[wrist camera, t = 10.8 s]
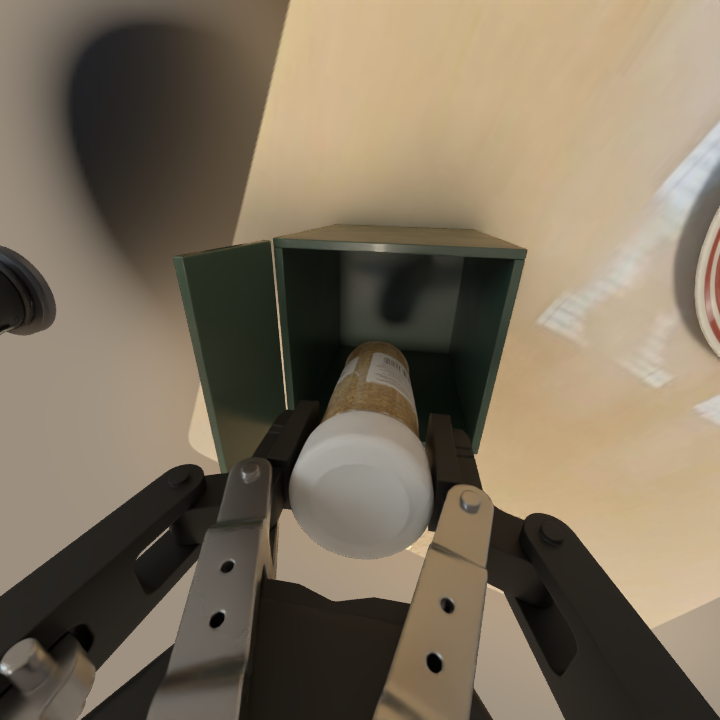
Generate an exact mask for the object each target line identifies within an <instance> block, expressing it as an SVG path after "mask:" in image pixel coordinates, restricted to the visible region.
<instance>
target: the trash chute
mask: <svg viewBox="0 0 720 720" xmlns="http://www.w3.org/2000/svg"><path fill="white" fill-rule="evenodd" d="M273 244H274V257H275V268H276V279H277V291H278V302H279V314H280V325H281V336H282V348H283V359H284V371H285V382H286V393H287V405H288V410H294V409H295V407H296V405H297V404H298V402H299V400H300V399H305V400H315V401H318V402H319V413H320V423H321V421H322V419H323V417H324V414H325V411H326V410H327V408H328V404H329V401H330V399H331V396H332V394H333V392H334V389H335V387H336V385H337V382H338V380H339V378H340V376H341V374H342V371H343V370H344V368H345V364H346V361H347V358H348V356H349V355H350V353H351V352H352V351H353V350H354V349H356V348H357V347H358V346H359V345H361V344H363V343H365V342H368V341H382V342H386V343H390V344H392V345H394V346H395V347H396V348H398V349H399V350H400V351H401V352H402V354H403V355H404V357H405V358H406V361H407V363H408V366H409V378H410V382H411V387H412V392H413V397H414V402H415V407H416V412H417V418H418V431H419V438H420V441H421V443H422V445H423V446H424V448H425V444H426V437H427V430H428V424H429V417H430V413H435V414H444V415H449V416H450V421H451V426H452V428H456V429H462V430H463V431H464V432H465V433H466V434H467V436H468V437H469V438H470V441H471V445H472V450H473V453H474V454H477V453H478V448H479V445H480V441H481V437H482V433H483V429H484V424H485V420H486V416H487V412H488V408H489V404H490V400H491V396H492V392H493V388H494V384H495V380H496V376H497V372H498V368H499V364H500V360H501V356H502V351H503V347H504V343H505V339H506V335H507V331H508V327H509V323H510V319H511V315H512V311H513V307H514V303H515V299H516V295H517V291H518V287H519V283H520V278H521V274H522V270H523V266H524V262H525V260H524V259H525V258H526V254H527V249H525V248H522V247H519V246H517V245H514V244H511V243H509V242H506V241H503V240H500V239H498V238H495V237H492V236H490V235H487V234H484V233H481V232H479V231H476V230H473V229H448V228H422V227H395V226H369V225H342V224H335V225H331V226H326V227H322V228H317V229H312V230H308V231H303V232H299V233H294V234H290V235H285V236H280V237H276V238H273Z"/></svg>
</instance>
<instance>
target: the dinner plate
mask: <svg viewBox="0 0 720 720" xmlns="http://www.w3.org/2000/svg"><path fill="white" fill-rule="evenodd" d="M694 298H695V306H696V314H697V318H698V321H699V325H700V328H701V330H702V332H703V334H704V336H705V338H706V340H707V342H708V343H709V345H710V346H711V348H712V349H713V351H714V352H715V353H716V354H717V355H718V356H719V357H720V206H719V208H718V210H717V212H716V214H715V216H714V218H713V220H712V222H711V224H710V226H709V229H708V231H707V234H706V237H705V240H704V242H703V245H702V248H701V252H700V256H699V259H698V264H697V269H696V276H695V289H694Z"/></svg>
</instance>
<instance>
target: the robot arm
mask: <svg viewBox="0 0 720 720" xmlns="http://www.w3.org/2000/svg"><path fill="white" fill-rule="evenodd" d="M33 315H34V307H33V302H32V299H31V296H30V294H29V292H28V290H27V289H26V287H25V286H24V284H23V283H22V281H21V280H20V279H19V278H18V277H17V276H16V275H15V274H14V273H13V272H12V271H11V270H10V269H9V268H7V267H6V266H5V265H3V264H1V263H0V335H1V334H3V333H5V332H7V331H8V330H11V329H17V328H20V327H24V326H26V325H28V324H29V323H30V322H31V321H32V319H33ZM319 425H320V413H319V402H318V401H315V400H305V399H300V400H299V402H298V404H297V405H296V407H295V409H294V410H285V411H284V412H283V413H281V414H280V415H278V416H277V418H276V419H275V421H274V422H273V424H272V426H271V427H270V429H269V430H268V433H266V435H265V436H264V438H263V440H262V441H261V443H260V444H259V446H258V447H257V449H256V451H255V452H254V454H253V455H252V457H250V458H246V459H244V460H242V461H240V462H238V463H237V464H235V465H234V466H233V467H232V468H231V470H230V472H228V473H222V474H215V475H207V476H204V472H203V470H202V468H201V467H199V466H197V465H193V464H185V465H180V466H178V467H175V468H172V469H170V470H169V471H167V472H166V473H164V474H163V475H162V476H160V477H159V478H158V479H156V480H155V481H153V482H152V483H151V484H149V485H148V486H147V487H145V488H144V489H143V490H141V491H140V492H139V493H137V494H136V495H135V496H134V497H132V498H131V499H130V500H128V501H127V502H126V503H124V504H123V505H121V507H119V508H117V509H116V510H115V511H114V512H112V513H111V514H109V515H108V516H107V517H105V518H104V519H103V520H101V521H100V522H99V523H98V524H96V525H95V526H94V527H92V528H91V529H90V530H88V531H87V532H86V533H84V534H83V535H82V536H80V537H79V538H78V539H76V540H75V541H74V542H72V543H71V544H70V545H68V546H67V547H66V548H64V549H63V550H62V551H60V552H59V553H58V554H56V555H55V556H54V557H52V558H51V559H50V560H48V561H47V562H46V563H44V564H43V565H42V566H40V567H39V568H38V569H36V570H35V571H34V572H32V573H31V574H30V575H28V576H27V577H26V578H24V579H23V580H22V581H20V582H19V583H18V584H16V585H15V586H14V587H12V588H11V589H10V590H8V591H7V592H6V593H4V594H3V595H2V596H0V720H76V719H77V718H78V716H79V715H80V714H81V712H82V711H83V709H84V706H85V703H86V698H87V696H88V694H89V693H90V691H91V688H92V685H93V683H94V679H95V672H96V671H97V670H98V669H99V668H100V667H101V666H102V665H103V663H104V662H105V661H106V660H107V659H108V658H109V657H110V655H112V653H113V652H114V651H115V650H116V649H117V648H118V647H119V646H120V645H121V644H122V643H123V641H124V640H125V639H126V638H127V637H128V636H129V635H130V634H131V633H132V632H133V630H134V629H135V628H136V627H137V626H138V625H139V624H140V623H141V622H142V620H143V619H144V618H145V617H146V616H147V615H148V614H149V613H150V611H152V609H153V608H154V607H155V606H156V605H157V604H158V603H159V602H160V601H161V600H162V598H163V597H164V596H165V595H166V594H167V593H168V592H169V591H170V589H171V588H172V587H173V586H174V585H175V584H176V583H177V582H178V581H179V580H180V578H181V577H182V576H183V575H184V574H185V573H186V572H187V571H188V570H189V568H191V566H192V565H193V564H194V563H195V562H196V561H197V560H198V562H197V566H196V569H195V573H194V576H193V580H192V583H191V587H190V590H189V594H188V598H187V601H186V605H185V608H184V612H183V615H182V619H181V622H180V626H179V630H178V633H177V637H176V640H175V643H174V644H173V645H172V646H171V647H169V648H168V649H167V650H166V651H164V652H163V653H162V654H161V655H160V656H158V657H157V658H156V659H155V660H153V661H152V662H151V663H150V664H148V665H147V666H146V667H145V668H144V669H142V670H141V671H140V672H139V673H137V674H136V675H135V676H134V677H132V678H131V679H130V680H129V681H128V682H126V683H125V684H124V685H123V686H121V687H120V688H119V689H118V690H116V691H115V692H114V693H113V694H112V695H111V696H109V697H108V698H107V699H105V700H104V701H103V702H102V703H101V704H99V705H98V706H97V707H96V708H94V709H93V710H92V711H91V712H90V713H88V714H87V715H86V716H85V717H83V718H82V719H81V720H493V719H492V717H491V716H490V714H489V712H488V711H487V709H486V707H485V706H484V704H483V702H482V701H481V699H480V697H479V696H478V694H477V693H476V691H475V689H474V688H473V687H474V679H475V672H476V664H477V656H478V649H479V641H480V633H481V626H482V618H483V610H484V603H485V595H486V588H487V583H488V584H490V585H492V586H494V587H496V588H498V589H500V590H502V591H504V594H505V596H506V598H507V600H508V602H509V604H510V607H511V609H512V610H513V613H514V615H515V617H516V619H517V621H518V623H519V625H520V627H521V629H522V631H523V633H524V636H525V638H526V639H527V642H528V644H529V646H530V648H531V650H532V652H533V654H534V656H535V658H536V660H537V662H538V664H539V667H540V669H541V671H542V673H543V675H544V677H545V679H546V681H547V683H548V685H549V687H550V689H551V691H552V693H553V696H554V697H555V700H556V701H557V704H558V706H559V708H560V710H561V712H562V714H563V716H564V718H565V720H720V718H719V716H718V715H717V714H716V713H715V711H714V710H713V709H712V707H711V706H710V705H709V704H708V703H707V701H706V700H705V699H704V697H703V696H702V695H701V693H700V692H699V691H698V690H697V688H696V687H695V686H694V685H693V683H692V682H691V681H690V679H689V678H688V677H687V676H686V674H685V673H684V672H683V671H682V669H681V668H680V667H679V665H678V664H677V663H676V662H675V660H674V659H673V658H672V657H671V655H670V654H669V653H668V651H667V650H666V649H665V648H664V647H663V645H662V644H661V643H660V641H659V640H658V639H657V637H656V636H655V635H654V634H653V632H652V631H651V630H650V629H649V627H648V626H647V625H646V623H645V622H644V621H643V620H642V618H641V617H640V616H639V615H638V613H637V612H636V611H635V610H634V608H633V607H632V606H631V604H630V603H629V602H628V601H627V599H626V598H625V597H624V596H623V594H622V593H621V592H620V590H619V589H618V588H617V587H616V585H615V584H614V583H613V582H612V580H611V579H610V578H609V576H608V575H607V574H606V573H605V571H604V570H603V569H602V568H601V566H600V565H599V564H598V562H597V561H596V560H595V559H594V557H593V556H592V555H591V554H590V552H589V551H588V550H587V548H586V547H585V546H584V545H583V543H582V542H581V541H580V540H579V538H578V537H577V536H576V534H575V533H574V532H573V531H572V530H571V529H570V528H569V527H568V526H567V525H566V524H565V523H563V522H562V521H560V520H559V519H557V518H555V517H553V516H550V515H547V514H543V513H534V514H531V515H529V516H527V517H526V519H525V520H522V519H520V518H517V517H515V516H512V515H510V514H508V513H505V512H503V511H501V510H500V509H498V508H497V507H495V506H494V505H493V502H492V500H491V499H490V497H489V496H488V495H487V494H486V493H485V492H484V491H483V489H482V485H481V481H480V477H479V473H478V469H477V465H476V461H475V459H474V453H473V450H472V445H471V441H470V438H469V437H468V436H467V434H466V433H465V432H464V431H463V430H462V429H456V428H452V426H451V421H450V416H449V415H444V414H435V413H430V417H429V424H428V430H427V437H426V444H425V451H426V453H427V456H428V459H429V464H430V469H431V475H432V482H433V489H434V509H433V514H432V517H431V520H430V522H429V524H428V531H433V532H435V534H434V537H433V541H432V543H430V545H429V548H428V551H427V554H426V557H425V560H424V564H423V567H422V570H421V573H420V576H419V579H418V582H417V585H416V589H415V592H414V595H413V598H412V601H411V604H408V603H402V602H397V601H392V600H386V599H380V598H375V597H374V598H364V599H355V600H346V601H338V602H335V601H331V600H329V599H327V598H325V597H323V596H321V595H319V594H317V593H316V592H314V591H312V590H310V589H308V588H306V587H304V586H302V585H300V584H296V583H291V582H285V581H279V580H276V568H277V551H278V534H279V517H280V514H281V512H282V509H291V506H290V500H289V482H290V477H291V474H292V471H293V469H294V466H295V464H296V461H297V459H298V457H299V455H300V452H301V450H302V448H303V446H304V444H305V442H306V441H307V439H308V437H309V436H310V434H311V433H312V432H313V431H314V430H315V429H316V428H317V427H318V426H319ZM291 510H292V509H291ZM168 527H169V530H168V531H167V532H166V533H165V534H164V535H163V536H162V537H161V538H159V539H158V540H157V541H156V542H155V543H154V544H153V545H152V546H151V547H150V548H149V549H148V550H146V551H145V552H144V553H143V554H142V555H141V556H140V557H139V558H138V559H137V557H138V555H139V554H140V553H141V552H142V551H143V550H144V549H145V548H146V547H147V546H148V545H149V544H150V543H151V542H153V541H154V540H155V539H156V538H157V537H158V536H159V535H160V534H161V533H162V532H164V531H165V530H166V529H167V528H168ZM136 559H137V560H136ZM135 560H136V561H135Z"/></svg>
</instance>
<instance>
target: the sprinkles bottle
mask: <svg viewBox="0 0 720 720" xmlns="http://www.w3.org/2000/svg"><path fill="white" fill-rule="evenodd" d="M289 500H290V506H291V509H292V512H293V514H294V517H295V518H296V520H297V522H298V524H299V525H300V527H301V528H302V529H303V531H304V532H305V533H306V534H307V535H308V536H309V537H310V538H311V539H312V540H313V541H314V542H316V543H317V544H318V545H320V546H322V547H323V548H325V549H327V550H329V551H331V552H334V553H336V554H338V555H342V556H345V557H349V558H355V559H378V558H383V557H387V556H390V555H394V554H396V553H398V552H400V551H402V550H404V549H406V548H408V547H409V546H410V545H412V544H413V543H414V542H415V541H417V539H418V538H419V537H420V536H421V535H422V534H423V533H424V531H425V530H426V528H427V526H428V524H429V522H430V520H431V517H432V514H433V509H434V489H433V482H432V475H431V469H430V464H429V459H428V456H427V453H426V451H425V448H424V446H423V445H422V443H421V441H420V438H419V431H418V418H417V412H416V407H415V402H414V397H413V392H412V387H411V382H410V378H409V366H408V363H407V361H406V358H405V357H404V355H403V354H402V352H401V351H400V350H399V349H398V348H396V347H395V346H394V345H392V344H390V343H386V342H382V341H368V342H365V343H363V344H361V345H359V346H358V347H357V348H356V349H354V350H353V351H352V352H351V353H350V355H349V356H348V358H347V361H346V364H345V368H344V370H343V371H342V374H341V376H340V378H339V380H338V382H337V385H336V387H335V389H334V392H333V394H332V396H331V399H330V401H329V404H328V408H327V410H326V411H325V414H324V417H323V419H322V421H321V423H320V425H319V426H318V427H317V428H316V429H315V430H314V431H313V432H312V433H311V434H310V436H309V437H308V439H307V441H306V442H305V444H304V446H303V448H302V450H301V452H300V455H299V457H298V459H297V461H296V464H295V466H294V469H293V471H292V474H291V477H290V482H289Z"/></svg>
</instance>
